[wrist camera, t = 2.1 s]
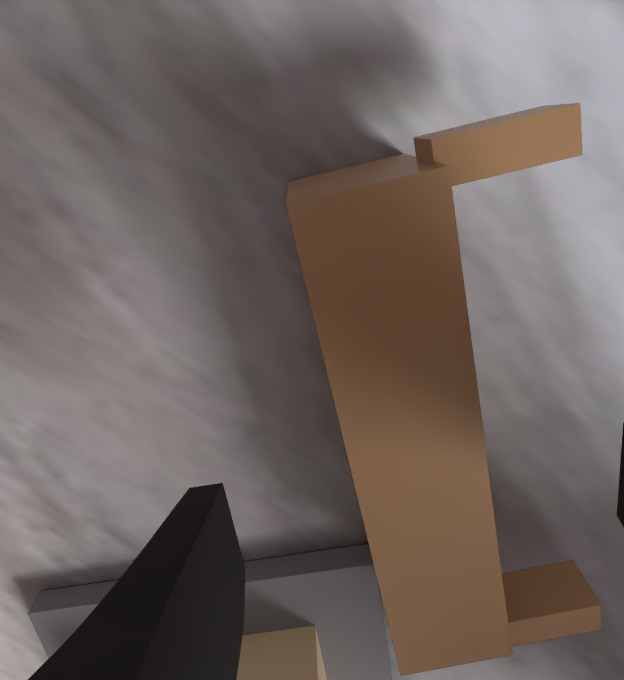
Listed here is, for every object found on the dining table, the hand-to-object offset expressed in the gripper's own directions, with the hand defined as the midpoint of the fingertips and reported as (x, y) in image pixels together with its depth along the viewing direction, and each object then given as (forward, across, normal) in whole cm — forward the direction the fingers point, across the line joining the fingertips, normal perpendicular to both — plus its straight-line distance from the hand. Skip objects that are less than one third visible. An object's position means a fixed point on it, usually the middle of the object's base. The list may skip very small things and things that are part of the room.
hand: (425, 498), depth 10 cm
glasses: (+5, -1, 0) cm, 5 cm away
